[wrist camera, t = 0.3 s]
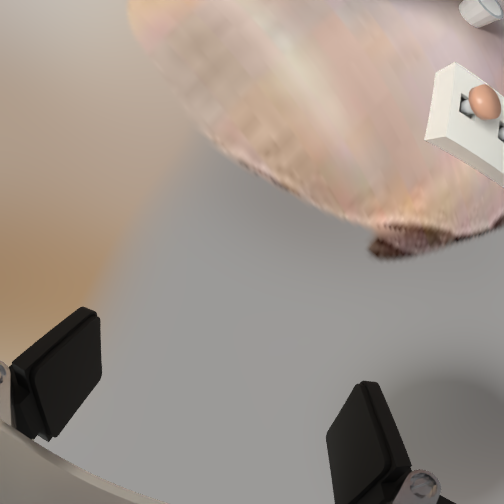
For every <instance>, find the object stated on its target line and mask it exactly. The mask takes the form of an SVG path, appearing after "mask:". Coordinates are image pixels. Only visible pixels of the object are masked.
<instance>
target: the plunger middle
mask: <svg viewBox="0 0 504 504" xmlns="http://www.w3.org/2000/svg"><path fill="white" fill-rule="evenodd" d="M498 139H500V140H501V141H504V127H502V128H499V133H498Z"/></svg>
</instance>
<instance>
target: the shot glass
mask: <svg viewBox="0 0 504 504" xmlns="http://www.w3.org/2000/svg"><path fill="white" fill-rule="evenodd" d="M459 11H460V13H461V15H462V17H463V18H464V19H465V20H466V21H467V22H468V23H469V24H470V25H472V26H474V27H476V28H480V27H482V26H485V25H487V24H490V23H492V22H495V21H497V20H500V19H502V18H503V11H502V8H501V6H500V5H499V3H498V2H497V0H463V1H462V2H461V3H460V5H459Z"/></svg>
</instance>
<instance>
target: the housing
mask: <svg viewBox="0 0 504 504" xmlns="http://www.w3.org/2000/svg"><path fill="white" fill-rule="evenodd" d="M482 84H486V85H488V84H487V83H485V82H484V81H482V80H481V79H480V78H478V77H477V76H476V75H474V74H473V73H471V72H470V71H468V70H467V69H465V68H464V67H462V66H461V65H459V64H458V63H456V62H454V63H452V64H450V65H449V66H447V67H445V68H443V69H441V70H440V71H438V72H436V73H435V81H434V89H433V96H432V102H431V108H430V114H429V119H428V125H427V130H426V135H425V139H424V140H425V141H427V142H428V143H430V144H432V145H434V146H436V147H438V148H440V149H442V150H443V151H445V152H447V153H449V154H451V155H452V156H454V157H456V158H458V159H459V160H461V161H463V162H464V163H466V164H468V165H469V166H471V167H473V168H474V169H476V170H477V171H479V172H481V173H482V174H484V175H485V176H487V177H488V178H490V179H491V180H493V181H494V182H496V183H497V184H499V185H500V186H501V187H503V188H504V141H501V140H500V139H498V133H499V128H502V127H504V97H503V96H502V95H501V94H499V93H498V92H497V91H496V90H494V89H493V88H492V87H491V86H490V87H491V88H492V89H493V90H494V91H495V92H496V94H497V95H498V97H499V100H500V103H501V114H500V116H499V117H498V118H496V119H491V120H481V119H480V118H478V117H477V116H476V115H475V114H470V115H466V116H465V115H464V114H462V113H461V112H459V108H460V102H462V101H465V100H468V99H469V92H470V90H471V89H472V88H474V87H477V86H479V85H482ZM488 86H489V85H488Z"/></svg>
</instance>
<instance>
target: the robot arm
mask: <svg viewBox="0 0 504 504" xmlns="http://www.w3.org/2000/svg"><path fill="white" fill-rule="evenodd" d="M101 376H102V364H101V340H100V318H99V317H97V313H96V312H95V311H93V310H90V309H88V308H85V307H80V308H79V309H77V310H76V311H75V312H73V313H72V314H71V315H70V316H68V317H67V318H66V319H64V320H63V321H62V322H61V323H59V324H58V325H57V326H55V327H54V328H53V329H52V330H50V331H49V332H48V333H47V334H45V335H44V336H43V337H42V338H40V339H39V340H38V341H37V342H35V343H34V344H33V345H32V346H30V347H29V348H28V349H27V350H26V351H24V352H23V353H22V354H21V355H20V356H18V357H17V358H16V359H15V360H14V361H13V362H12V365H11V366H10V367H8V366H7V365H6V364H5V363H4V362H2V361H0V504H168V503H165V502H162V501H159V500H156V499H153V498H150V497H147V496H144V495H141V494H139V493H136V492H133V491H130V490H128V489H125V488H123V487H120V486H118V485H116V484H113V483H111V482H109V481H106V480H104V479H102V478H100V477H98V476H96V475H93V474H91V473H89V472H87V471H85V470H83V469H81V468H79V467H77V466H76V465H74V464H72V463H70V462H68V461H66V460H65V459H63V458H61V457H59V456H57V455H55V454H54V453H52V452H51V451H49V450H47V449H45V448H44V447H42V446H41V445H39V444H37V443H36V442H34V439H35V437H36V436H37V435H38V436H40V437H41V438H43V439H44V440H46V441H48V442H49V441H50V440H51V438H52V437H57V436H58V435H59V434H60V432H61V431H62V430H63V428H64V427H65V425H66V424H67V423H68V421H69V420H70V419H71V418H72V416H73V415H74V413H75V412H76V411H77V409H78V408H79V407H80V406H81V404H82V403H83V402H84V400H85V399H86V398H87V396H88V395H89V394H90V392H91V391H92V390H93V389H94V387H95V386H96V385H97V383H98V382H99V381H100V379H101ZM326 442H327V449H328V455H329V462H330V469H331V476H332V484H333V492H334V500H335V504H456V503H454V502H452V501H450V500H448V499H446V498H444V497H443V496H441V495H440V491H441V485H440V482H439V480H438V479H437V477H436V476H435V475H434V474H432V473H431V472H429V471H426V470H420V469H419V470H414V471H412V470H411V468H410V467H411V466H412V465H411V462H410V459H409V457H408V454H407V451H406V449H405V446H404V444H403V441H402V439H401V436H400V434H399V431H398V429H397V426H396V424H395V421H394V419H393V417H392V414H391V412H390V409H389V407H388V405H387V402H386V400H385V398H384V395H383V393H382V391H381V388H380V386H379V384H378V383H377V382H369V381H362V382H361V383H360V384H356V385H355V387H354V388H353V390H352V392H351V394H350V395H349V397H348V399H347V401H346V403H345V404H344V406H343V407H342V409H341V411H340V413H339V414H338V416H337V417H336V419H335V421H334V422H333V424H332V425H331V427H330V428H329V430H328V432H327V435H326Z"/></svg>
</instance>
